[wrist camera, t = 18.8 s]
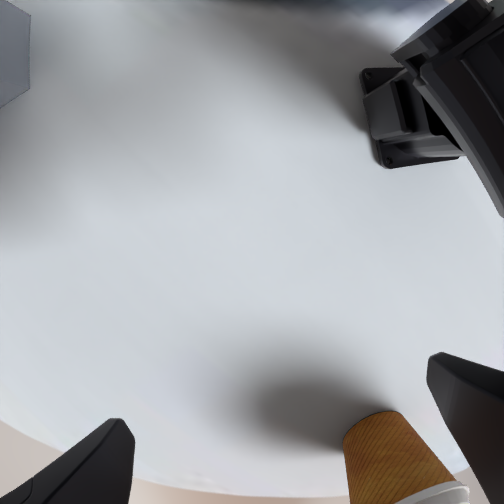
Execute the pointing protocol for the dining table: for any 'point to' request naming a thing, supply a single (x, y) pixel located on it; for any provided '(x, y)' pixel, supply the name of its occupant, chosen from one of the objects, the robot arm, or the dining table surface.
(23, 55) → the grey cube
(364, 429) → the disposable coffee cup
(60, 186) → the dining table surface
